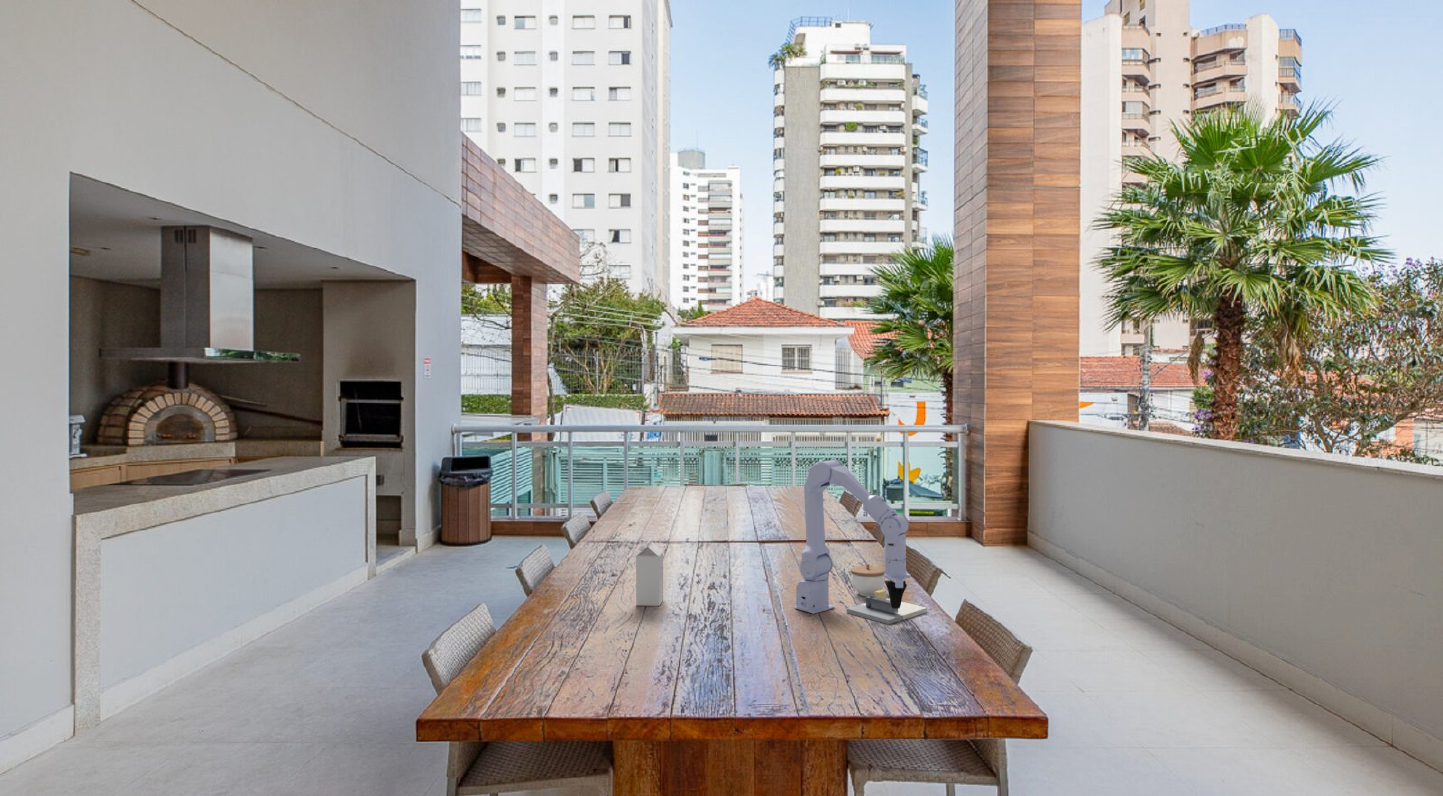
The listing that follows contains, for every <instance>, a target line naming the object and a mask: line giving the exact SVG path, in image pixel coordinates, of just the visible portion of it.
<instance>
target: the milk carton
mask: <svg viewBox="0 0 1443 796" xmlns="http://www.w3.org/2000/svg"><path fill="white" fill-rule="evenodd" d="M638 549H639V553H637V554H636V555H635V600H636V601H635V605H636V606H642V607H643V606H645V607H646V606H647V607H648V606H649V607H650V606H651V607H660V606H661V604H662V603H663V601H664V551H663V549H660V547H658V546H657V545H656V544H655V543H654V542H653V538H650V540H648V542H646V545H645V543H643V544H642V545H641V546H639V547H638Z"/></svg>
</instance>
